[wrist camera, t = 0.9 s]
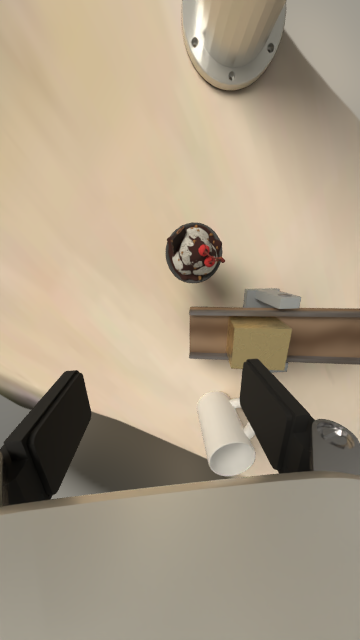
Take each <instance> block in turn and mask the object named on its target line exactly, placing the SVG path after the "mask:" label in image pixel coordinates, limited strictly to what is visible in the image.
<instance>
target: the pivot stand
mask: <svg viewBox="0 0 360 640" xmlns="http://www.w3.org/2000/svg"><path fill="white" fill-rule="evenodd" d="M279 290H280V289H277V288H274V289H245V295H244V305H243V308H278V309H292V308H299V306H300V301H301V297H299V296H295V295H292V294H288V293H284V292H281V291H279ZM287 368H288V362H286V364H285V369H284V370H269V371H270V372H271V373H272V372H287Z"/></svg>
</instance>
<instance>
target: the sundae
mask: <svg viewBox="0 0 360 640" xmlns="http://www.w3.org/2000/svg"><path fill="white" fill-rule="evenodd" d="M166 260H167V264H168V266H169V269H170V270H171V272H172V273H173V274H174V276H175V277H177V278H178V279H179V280H181V281H184V282H187V283H199V282H202V281H205V280H207V279H208V278H210V277H211V276H212V275H213V274H214V273H215V272H216V270H217V269H218V267H219V265H220V262H222V263H224V262H225V260H224V259H223V258H222V242H221V241H220V239H219V238H218V236H217V234H216V233H215V232H214V231H213V230H212V229H211V228H210V227H208V226H206V225H204V224H201V223H188V224H185V225H182V226H181V227H179V228H178V229H176V230H175V231H174V232H173V233H172V235H171V236H170V237H169V238H168V239H167V245H166Z"/></svg>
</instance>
